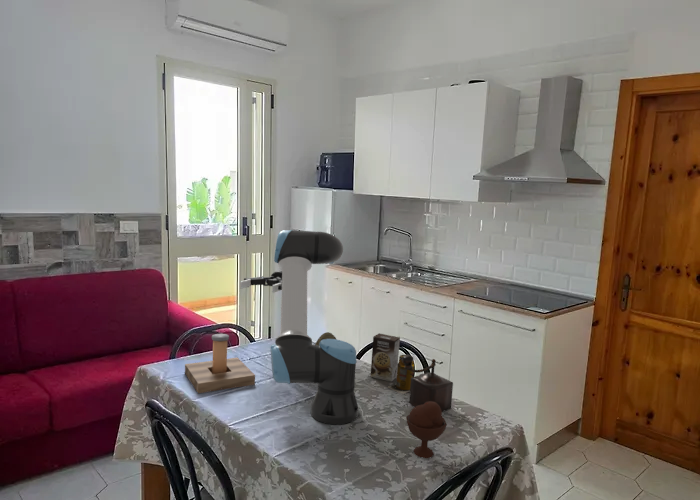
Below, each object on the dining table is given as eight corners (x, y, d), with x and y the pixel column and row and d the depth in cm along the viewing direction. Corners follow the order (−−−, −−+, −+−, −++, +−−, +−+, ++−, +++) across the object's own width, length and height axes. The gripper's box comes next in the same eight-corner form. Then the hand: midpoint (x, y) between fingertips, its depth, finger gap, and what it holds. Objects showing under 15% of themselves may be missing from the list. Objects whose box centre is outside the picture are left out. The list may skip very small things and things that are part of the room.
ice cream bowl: (438, 443, 140) (442, 393, 138) (447, 464, 129) (452, 410, 127) (401, 441, 139) (405, 391, 138) (407, 463, 128) (411, 409, 127)
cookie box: (369, 377, 188) (372, 336, 186) (375, 372, 194) (378, 332, 192) (391, 382, 184) (394, 340, 182) (397, 376, 190) (400, 336, 188)
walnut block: (254, 384, 174) (255, 375, 174) (198, 393, 164) (198, 383, 164) (237, 366, 191) (237, 357, 191) (184, 373, 181) (185, 364, 180)
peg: (229, 380, 177) (231, 337, 175) (213, 382, 174) (214, 339, 172) (224, 374, 182) (226, 333, 180) (208, 376, 179) (209, 334, 177)
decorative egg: (333, 375, 187) (336, 338, 185) (308, 371, 190) (309, 334, 188) (342, 366, 197) (345, 330, 195) (318, 362, 200) (320, 327, 199)
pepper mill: (428, 396, 172) (432, 347, 170) (452, 408, 164) (456, 357, 162) (395, 405, 163) (399, 354, 161) (418, 419, 154) (422, 364, 152)
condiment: (417, 389, 179) (419, 357, 178) (402, 394, 173) (404, 362, 172) (402, 382, 184) (404, 352, 183) (387, 387, 178) (389, 356, 177)
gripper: (308, 291, 200) (286, 300, 180) (254, 285, 207) (227, 293, 187) (309, 273, 199) (287, 280, 179) (255, 267, 206) (228, 273, 186)
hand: (257, 286), depth 183 cm, fingers open, 13 cm apart
